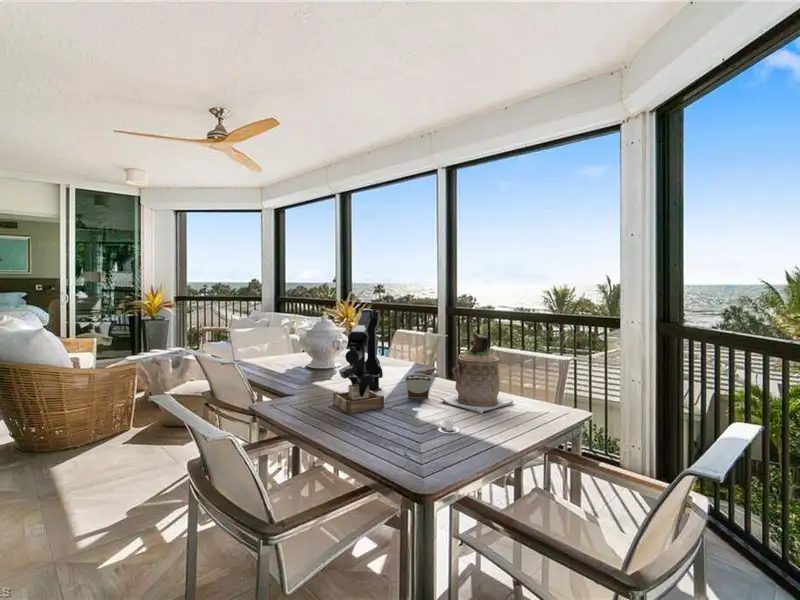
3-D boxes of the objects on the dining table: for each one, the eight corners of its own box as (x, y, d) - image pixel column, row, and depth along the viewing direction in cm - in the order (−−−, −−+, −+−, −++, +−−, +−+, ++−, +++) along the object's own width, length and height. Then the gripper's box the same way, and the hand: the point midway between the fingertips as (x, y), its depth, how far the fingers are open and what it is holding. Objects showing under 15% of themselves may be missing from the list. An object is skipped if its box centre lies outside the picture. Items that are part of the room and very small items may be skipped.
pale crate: (348, 396, 195) (348, 385, 195) (362, 394, 199) (362, 383, 199) (353, 399, 190) (353, 388, 190) (368, 397, 194) (368, 386, 193)
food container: (431, 395, 212) (431, 374, 212) (431, 398, 206) (431, 377, 206) (406, 394, 214) (406, 373, 213) (404, 397, 208) (405, 376, 207)
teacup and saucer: (437, 426, 169) (437, 415, 169) (458, 426, 169) (458, 416, 169) (438, 434, 161) (438, 423, 160) (460, 434, 160) (460, 423, 160)
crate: (333, 403, 197) (333, 392, 197) (368, 398, 206) (368, 387, 206) (347, 413, 184) (347, 401, 183) (384, 407, 192) (384, 396, 192)
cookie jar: (516, 404, 198) (517, 332, 197) (481, 415, 182) (482, 337, 180) (472, 392, 217) (473, 327, 215) (437, 402, 201) (438, 331, 199)
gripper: (333, 357, 198) (333, 392, 199) (349, 364, 182) (349, 402, 182) (356, 355, 203) (356, 388, 204) (374, 362, 187) (374, 398, 188)
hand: (358, 394), depth 194 cm, fingers closed on pale crate, 6 cm apart
